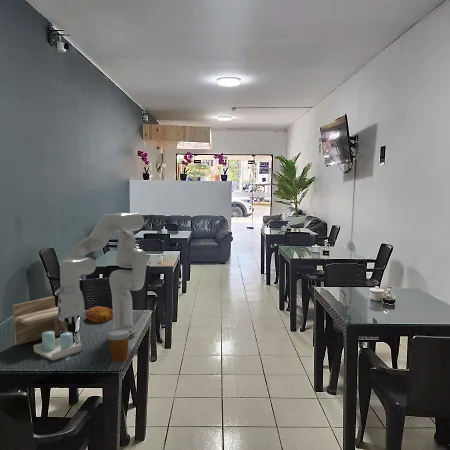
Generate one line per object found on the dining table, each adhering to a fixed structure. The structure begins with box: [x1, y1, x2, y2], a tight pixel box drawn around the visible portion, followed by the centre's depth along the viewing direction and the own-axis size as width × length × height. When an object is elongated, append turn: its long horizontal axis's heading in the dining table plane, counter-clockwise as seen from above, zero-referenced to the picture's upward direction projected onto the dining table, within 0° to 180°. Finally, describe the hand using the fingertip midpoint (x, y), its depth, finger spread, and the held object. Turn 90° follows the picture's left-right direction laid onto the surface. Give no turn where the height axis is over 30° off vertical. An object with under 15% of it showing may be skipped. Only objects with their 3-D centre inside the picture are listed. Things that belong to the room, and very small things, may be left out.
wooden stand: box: [12, 295, 68, 346], centre depth 202 cm, size 15×20×19 cm
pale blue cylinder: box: [60, 332, 74, 350], centre depth 190 cm, size 5×5×8 cm
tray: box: [33, 331, 83, 362], centre depth 191 cm, size 16×14×8 cm
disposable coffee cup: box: [106, 328, 131, 363], centre depth 181 cm, size 10×10×12 cm
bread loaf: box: [84, 305, 113, 323], centre depth 237 cm, size 14×16×8 cm
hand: (71, 331), depth 181 cm, fingers closed
